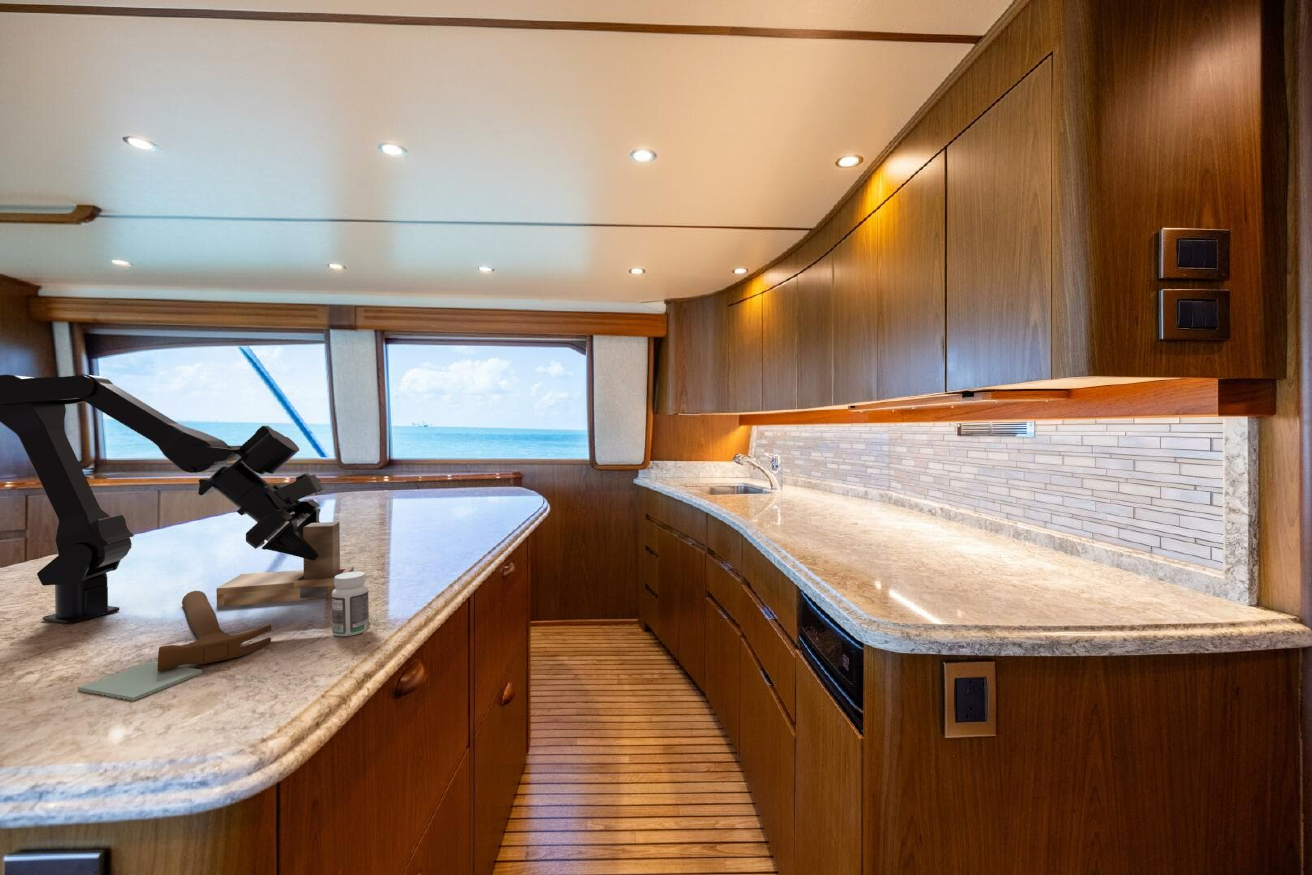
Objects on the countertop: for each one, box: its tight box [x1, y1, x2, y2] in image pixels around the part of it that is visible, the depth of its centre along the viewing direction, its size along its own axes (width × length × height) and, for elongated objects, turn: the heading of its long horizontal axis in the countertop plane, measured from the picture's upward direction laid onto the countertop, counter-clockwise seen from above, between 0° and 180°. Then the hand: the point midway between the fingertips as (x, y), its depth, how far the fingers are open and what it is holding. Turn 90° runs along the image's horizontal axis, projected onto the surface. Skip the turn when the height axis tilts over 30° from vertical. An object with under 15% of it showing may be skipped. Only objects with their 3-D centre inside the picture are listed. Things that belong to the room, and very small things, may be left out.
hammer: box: [157, 590, 273, 672], centre depth 79 cm, size 12×3×30 cm
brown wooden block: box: [302, 521, 341, 580], centre depth 96 cm, size 4×4×12 cm
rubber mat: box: [77, 661, 203, 702], centre depth 64 cm, size 9×7×1 cm
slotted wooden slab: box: [216, 566, 355, 608], centre depth 94 cm, size 18×9×4 cm, turn 107°
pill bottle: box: [331, 571, 370, 637], centre depth 79 cm, size 5×5×8 cm
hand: (325, 552), depth 96 cm, fingers open, 9 cm apart
